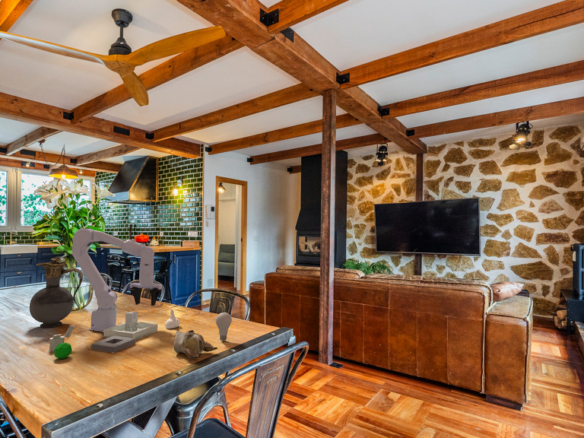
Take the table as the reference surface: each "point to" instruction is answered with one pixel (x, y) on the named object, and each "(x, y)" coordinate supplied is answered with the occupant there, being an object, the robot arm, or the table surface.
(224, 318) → the lightbulb
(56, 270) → the pitcher
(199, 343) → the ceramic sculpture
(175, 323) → the garlic bulb
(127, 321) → the pin
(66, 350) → the polyhedron
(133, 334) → the tray
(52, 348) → the lighter
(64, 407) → the table surface
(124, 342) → the collar
